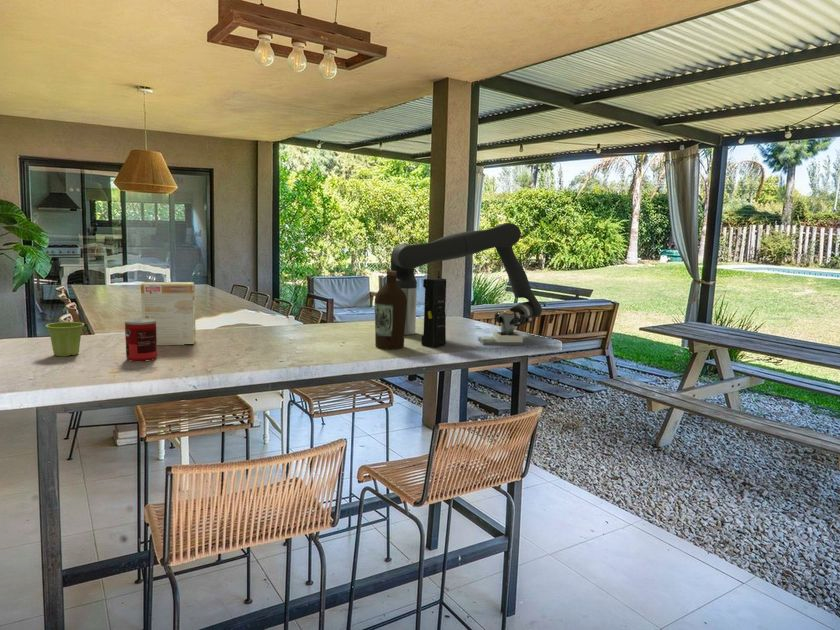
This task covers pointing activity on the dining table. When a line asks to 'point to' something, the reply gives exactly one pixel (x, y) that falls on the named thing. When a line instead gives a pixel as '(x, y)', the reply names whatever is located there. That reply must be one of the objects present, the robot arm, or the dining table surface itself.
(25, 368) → the dining table surface
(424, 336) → the portable radio
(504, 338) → the tester board
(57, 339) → the plant pot
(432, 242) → the robot arm
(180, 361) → the dining table surface
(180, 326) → the coffeecake box
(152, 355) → the canned food
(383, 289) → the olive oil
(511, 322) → the cell
